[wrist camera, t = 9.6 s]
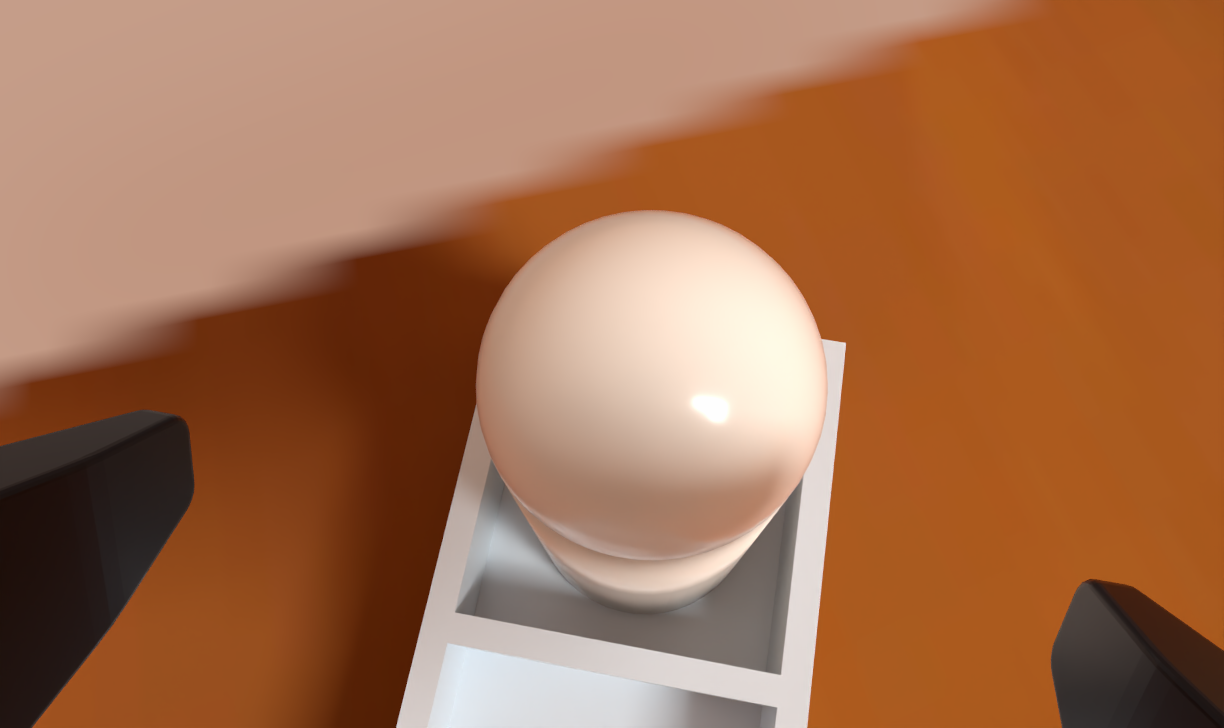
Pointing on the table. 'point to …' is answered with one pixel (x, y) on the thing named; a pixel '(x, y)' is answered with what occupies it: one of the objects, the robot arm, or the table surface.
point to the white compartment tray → (617, 621)
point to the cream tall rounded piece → (650, 402)
